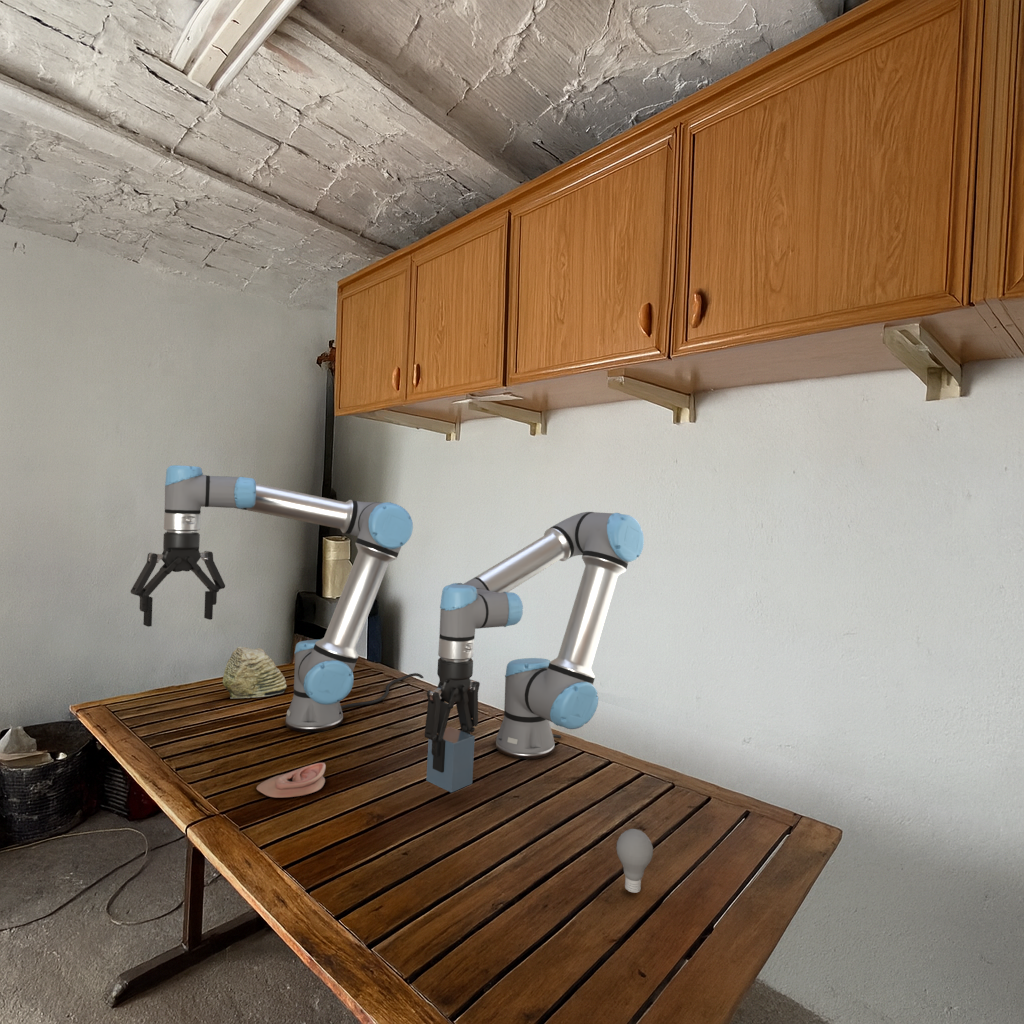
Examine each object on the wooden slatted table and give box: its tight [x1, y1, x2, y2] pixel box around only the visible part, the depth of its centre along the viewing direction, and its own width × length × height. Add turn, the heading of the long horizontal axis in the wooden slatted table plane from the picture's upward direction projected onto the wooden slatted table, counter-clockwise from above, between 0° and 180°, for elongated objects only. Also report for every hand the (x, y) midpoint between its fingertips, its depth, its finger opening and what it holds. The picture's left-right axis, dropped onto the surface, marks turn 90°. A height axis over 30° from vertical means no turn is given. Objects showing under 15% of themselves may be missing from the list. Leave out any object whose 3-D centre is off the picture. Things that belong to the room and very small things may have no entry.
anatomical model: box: [256, 762, 327, 799], centre depth 137 cm, size 13×4×12 cm
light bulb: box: [615, 828, 654, 894], centre depth 106 cm, size 6×6×10 cm
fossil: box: [222, 646, 288, 699], centre depth 198 cm, size 9×18×15 cm, turn 132°
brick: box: [425, 726, 476, 793], centre depth 135 cm, size 6×8×10 cm
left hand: (178, 622), depth 148 cm, fingers open, 13 cm apart
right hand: (450, 765), depth 135 cm, fingers closed on brick, 6 cm apart
